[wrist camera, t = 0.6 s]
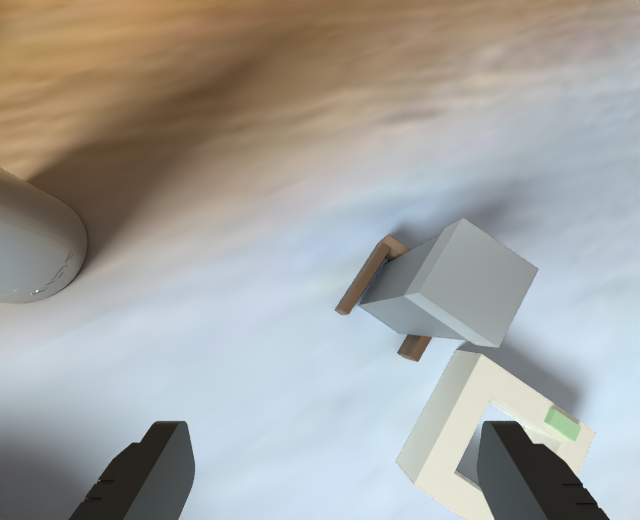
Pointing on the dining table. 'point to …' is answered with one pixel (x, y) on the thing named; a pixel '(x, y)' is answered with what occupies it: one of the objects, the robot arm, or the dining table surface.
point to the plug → (452, 287)
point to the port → (461, 421)
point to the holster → (383, 249)
